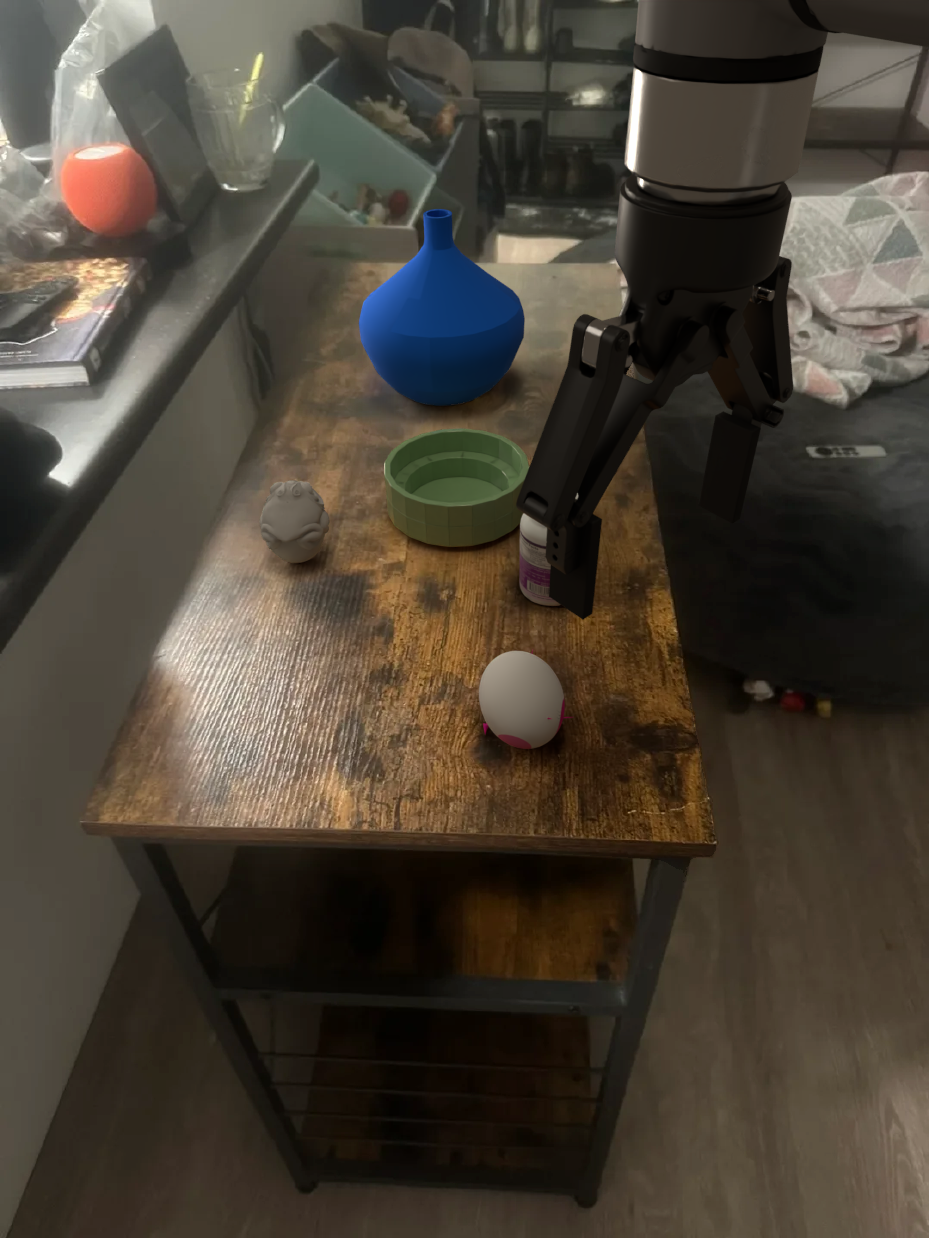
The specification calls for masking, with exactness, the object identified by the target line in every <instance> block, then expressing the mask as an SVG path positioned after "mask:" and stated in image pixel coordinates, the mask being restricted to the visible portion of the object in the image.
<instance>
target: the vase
mask: <svg viewBox="0 0 929 1238" xmlns="http://www.w3.org/2000/svg"><path fill="white" fill-rule="evenodd" d="M422 216H423V233H424V240H423V244H422V246H421V248H420V249H419V251H418V252H417V254H416V255H415V256H414V257H413V258H411V259H410V260H409V261H408V262H407V263H405V264H404V265H403V266H402V267H401V268H400V269H398V270H397V272H395V273H394V274H393V275H392V276H391V277H390V278H388V279H387V280H386V281H384V282H383V283H382V284H381V285H379V286H378V287H377V288H376V289H374V290H373V291H372V292H371V293H369V295H367V297H366V298H365V300H364V301H363V303H362V307H361V310H360V314H359V320H358V327H359V335H360V343H361V344H362V346H363V349H364V351H365V353H366V355H367V356H368V358H369V360H370V362H371V364H372V365H373V367H374V370H375V371H376V373H377V375H378V376H379V377H380V378H381V379H383V380H384V382H386V383H387V385H388V386H389V387H391V388H392V389H393V390H394V391H396V393H398V394H399V395H401V396H404V397H405V398H407V399H409V400H411V401H414V402H415V403H419V404H423V405H426V406H436V407H445V406H446V407H447V406H449V407H450V406H451V407H452V406H456V405H463V404H466V403H469V402H473V401H474V400H476V399H478V398H480V397H482V396H483V395H486V393H488V392H490V391H491V390H492V389H493V388H494V387H495V386H496V385H498V383H499V382H500V381H502V379H503V378H504V376H505V375H507V373H508V372H509V371H510V369H511V367H512V365H513V363H514V361H515V358H516V356H517V354H518V351H519V349H520V347H521V344H522V342H523V340H524V337H525V322H526V321H525V320H526V319H525V311H524V308H523V305H522V302H521V299H520V296H518V294H516V293H515V291H514V290H513V289H512V288H510V287H509V286H507V285H506V284H505V283H503V282H502V281H501V280H499V279H497V278H496V277H495V276H493V275H492V274H490V273H489V272H488V271H486V270H485V269H484V268H482V267H481V266H479V265H478V264H476V262H474V260H473V261H472V259H470V258H469V257H468V256H466V255H464V253H462V252H461V250H460V249H459V248H458V247H457V245H456V244H455V242H454V237H453V236H454V235H453V212H452V211H451V210H448V209H443V208H435V209H427V210H425V211H424V212H423V215H422Z"/></svg>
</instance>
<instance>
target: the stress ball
mask: <svg viewBox="0 0 929 1238" xmlns="http://www.w3.org/2000/svg"><path fill="white" fill-rule="evenodd" d="M533 652H534V648H532V651H531V652H528V651H525V650H509V651H506V652H503V653H501V654H499V655H497V656H496V657H494V658H493V659H492V660H491V661H490V662H489V663H488V665H487V666H486V667H485V669H484V671H483V673H482V675H481V678H480V681H479V686H478V701H479V706H480V711H481V714H482V716H483V719H484V721H485V723H484V722H483V724H482V726H483V731H484V735H486V734H487V732H488V730H489V729H490V731H491V732H492V733H493V734H494V735H495V736H496V737H497V738H498V739H500V740H501V741H502V742H503V743H505V744H508V745H509V746H511V747H513V748H517V749H522V750H529V749H530V750H531V749H536V748H540V747H542V746H544V745H546V744H547V743H549V742H550V741H552V739H553V738H555V736H556V735H557V733H558V732H559V731H560V728H561V726H562V723H563V721H564V719H571V718H573V716H565V712H566V711H565V709H566V702H565V701H566V700H565V693H564V690H563V687H562V684H561V681H560V679H559V678H558V676H557V674H556V672H555V671H554V670H553V668H552V667H551V666H550V665H549V664H548V662H546V661H545V660H543V659H542V658H540V657H539V656H537V655H535V654H533Z"/></svg>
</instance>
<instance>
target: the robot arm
mask: <svg viewBox="0 0 929 1238" xmlns="http://www.w3.org/2000/svg"><path fill="white" fill-rule="evenodd" d="M829 33H830V34H847V35H848V34H849V35H854V36H859V37H865V38H872V39H877V40H883V41H888V42H889V41H890V42H894V43H902V44H905V45H906V44H907V45H913V46H919V47H925V48H929V0H638V5H637V15H636V27H635V38H634V39H635V40H634V44H633V53H632V54H633V55H632V61H633V71H632V82H631V90H630V91H631V92H630V94H631V95H630V101H629V113H628V121H627V131H626V138H625V139H626V140H625V148H624V149H625V150H624V163H623V164H624V166H625V167H626V168H627V169H628V170H629V172H630V173H631V174H630V175H629V176H628V177H627V178H626V180H625V181H624V182H623V183H622V184H621V186H620V189H619V198H618V200H619V201H618V208H617V209H618V211H617V212H618V213H617V219H616V220H617V221H616V232H615V242H614V258H615V261H616V263H617V265H618V267H619V268H620V270H621V272H622V274H623V276H624V278H625V281H626V285H627V290H626V294H625V298H624V301H623V304H622V307H621V308H620V311H619V314H618V316H615V317H611V318H606V319H603V320H602V319H599V318H598V317H596V316H592V315H590V314H588V313H583V314H580V315H579V316H578V317H577V319H576V320H575V322H574V324H573V327H572V332H571V339H570V346H569V354H568V359H567V366H566V368H565V371H564V374H563V376H562V378H561V382H560V384H559V387H558V390H557V392H556V395H555V397H554V400H553V403H552V406H551V409H550V411H549V414H548V416H547V419H546V422H545V423H544V426H543V429H542V432H541V434H540V437H539V440H538V443H537V445H536V448H535V451H534V453H533V456H532V459H531V462H530V463H529V469H528V472H527V475H526V477H525V480H524V483H523V485H522V488H521V491H520V493H519V496H518V499H517V502H516V507H517V509H518V510H519V511H521V512H522V513H524V514H526V515H527V516H529V517H530V518H532V519H534V520H535V521H537V522H539V523H540V524H542V525H543V526H545V527H547V538H546V541H547V543H546V548H547V549H546V556H545V557H546V559H547V562H548V563H549V564H551V568H550V585H549V597H550V598H552V599H553V600H555V601H556V602H558V603H559V604H561V605H560V606H562V607H563V608H565V609H566V610H567V611H569V612H571V613H572V614H573V615H575V616H576V617H578V618H579V619H581V620H585V619H587V618H588V617H590V616H591V615H593V610H594V603H595V602H594V600H595V592H596V583H597V571H598V562H599V551H600V544H601V533H602V523H603V518H601V517H599V516H598V515H596V514H594V512H595V510H596V508H597V507H598V505H599V504H600V502H601V500H602V498H603V497H604V495H605V493H606V491H607V489H608V488H609V486H610V484H611V482H612V480H613V479H614V477H615V475H616V474H617V472H618V470H619V468H620V467H621V465H622V463H623V462H624V460H625V458H626V456H627V454H628V453H629V452H630V450H631V448H632V445H633V444H634V442H635V441H636V439H637V437H638V435H639V433H640V432H641V430H642V429H643V426H644V425H645V423H646V422H647V420H648V418H649V416H650V414H651V413H652V412H653V411H655V410H659V409H661V408H663V407H665V406H666V404H667V403H668V401H669V399H670V398H671V396H672V393H673V392H674V390H675V388H677V387H679V386H681V385H683V384H684V383H686V382H687V381H688V380H689V379H690V378H691V377H693V376H694V375H695V376H696V375H702V374H705V373H707V374H708V376H709V377H710V379H711V381H712V383H713V385H714V386H715V388H716V390H717V392H718V393H719V395H720V398H721V399H722V402H723V403H724V405H725V407H726V408H727V409H729V410H731V413H728V412H726V411H721V412H719V413H718V414H715V416H714V419H713V426H712V430H711V431H712V432H711V436H710V442H709V448H708V452H707V458H706V463H705V468H704V473H703V479H702V483H701V489H700V495H699V500H698V507H700V508H702V509H703V510H706V511H708V512H709V513H712V514H713V515H715V516H717V517H719V518H721V519H723V520H725V521H727V522H729V523H731V524H735V523H736V522H738V521H739V520H741V516H742V512H743V507H744V503H745V498H746V495H747V491H748V485H749V483H750V482H749V481H750V477H751V473H752V468H753V464H754V459H755V455H756V451H757V447H758V443H759V438H760V434H761V429H762V424H763V425H765V426H767V427H770V428H771V429H775V428H777V427H778V426H779V425H780V424H781V422H782V420H783V418H784V416H785V409H783V408H782V407H779V406H777V405H775V403H776V402H779V403H780V404H781V403H782V404H784V403H786V402H788V400H789V399H790V398H791V396H792V394H793V391H794V378H793V377H794V376H793V365H792V351H791V350H792V349H791V339H790V327H789V326H790V325H789V313H788V302H787V301H788V299H787V297H788V292H789V285H790V278H791V272H792V267H793V262H792V260H791V259H790V258H788V257H784V256H781V251H782V246H783V240H784V236H785V232H786V227H787V223H788V218H789V213H790V207H791V205H792V198H793V194H792V192H791V191H790V189H789V186H788V184H787V183H786V182H787V181H788V180H790V179H791V178H792V177H794V176H795V175H796V174H797V173H798V172H799V169H800V167H801V161H802V157H803V152H804V147H805V141H806V136H807V132H808V126H809V121H810V116H811V111H812V106H813V101H814V95H815V92H816V86H817V82H818V75H819V70H820V67H821V62H822V57H823V52H824V46H825V45H826V43H827V39H828V35H829ZM632 364H633V366H634V368H635V370H636V371H637V372H638V374H639V375H640V376H642V377H643V378H645V379H647V380H650V381H651V382H650V383H646V382H643V381H641V380H639V379H636V378H635V377H632V376H629V375H627V374H628V372H629V369H630V368H631V366H632ZM577 493H578V498H577V499H576V496H577Z"/></svg>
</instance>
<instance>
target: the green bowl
mask: <svg viewBox="0 0 929 1238" xmlns="http://www.w3.org/2000/svg"><path fill="white" fill-rule="evenodd" d="M529 467H530V463H529V459H528V456H527V454H526V453H525V452H524V450H523V449H522V448H521V447H520V446H519V445H518V444H517V443H516V442H514V441H513V440H510V439H509V438H507V437H505V436H504V435H500V434H497V433H494V432H490V431H488V430H482V429H473V428H463V427H462V428H461V427H459V428H442V429H437V430H436V429H435V430H432V431H428V432H423V433H419V434H418V435H416V436H413V437H411V438H408V439H406V440H404V441H402V442H401V443H400V444H398V445H397V446H396V447H395V448H393V449H392V450H391V451H390V452H389V454H388V456H387V458H386V459H385V460H384V463H383V478H384V488H385V498H386V510H387V515H388V517H389V519H390V521H391V523H392V524H393V525H394V527H395V528H397V530H399V531H400V532H401V533H403V534H404V535H406V536H407V537H408V538H411V539H413V540H416V541H419V542H422V543H423V544H424V543H425V544H428V545H432V546H438V547H439V546H441V547H447V548H455V547H473V546H478V545H481V544H485V543H490V542H494V541H496V540H498V539H500V538H502V537H504V536H505V535H507V534H509V533H511V532H513V531H514V530H515V529H516V528H517V527H518V526H520V522H521V518H522V515H523V513H522V512H521V511H519V510H518V509H517V507H516V502H517V499H518V496H519V493H520V491H521V488H522V485H523V483H524V480H525V477H526V475H527V472H528V469H529Z"/></svg>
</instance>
